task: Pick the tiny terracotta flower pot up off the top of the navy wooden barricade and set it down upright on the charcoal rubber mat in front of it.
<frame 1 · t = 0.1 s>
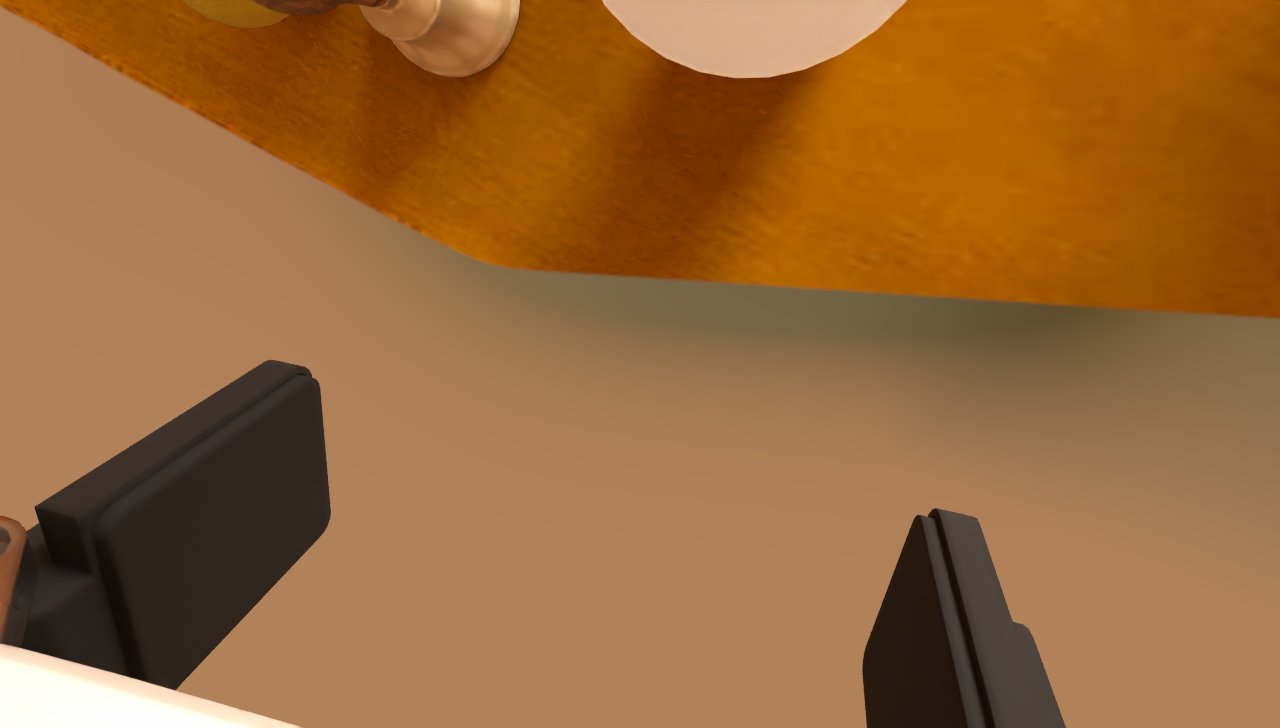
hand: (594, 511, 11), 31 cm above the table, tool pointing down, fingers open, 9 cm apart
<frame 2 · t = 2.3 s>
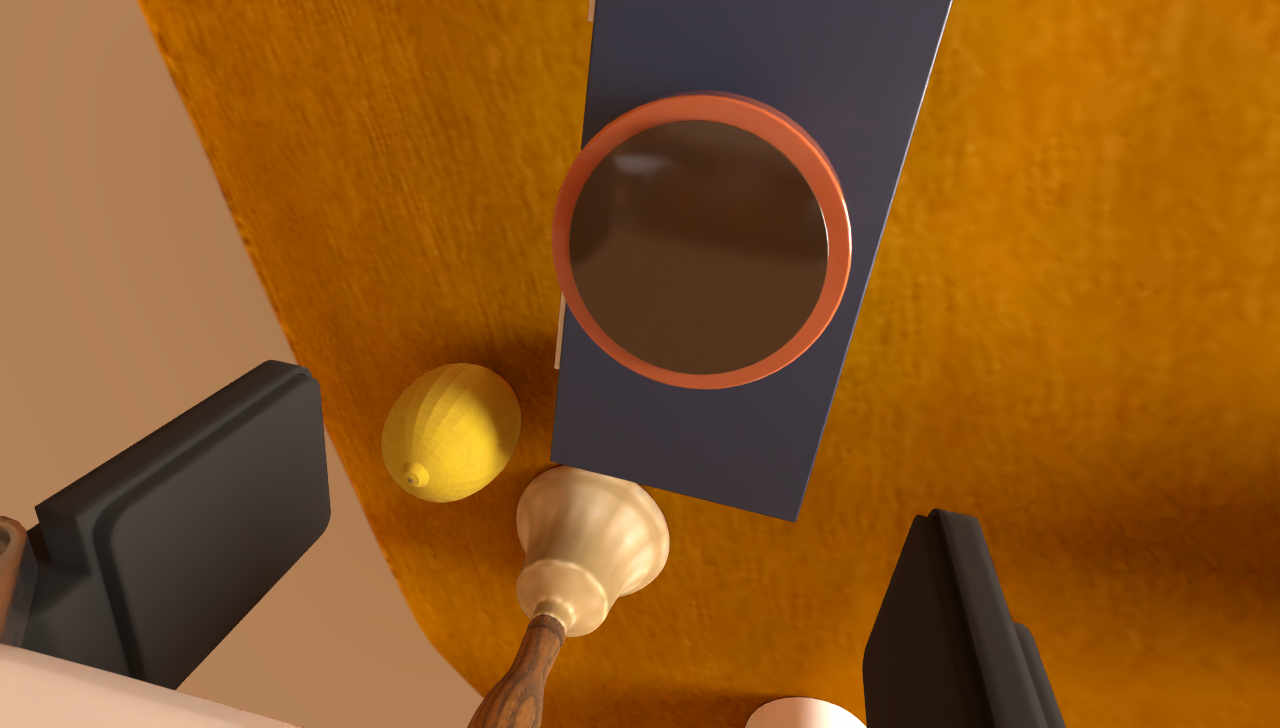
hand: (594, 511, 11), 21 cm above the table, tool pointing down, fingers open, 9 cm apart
pot: (728, 190, 23), point 6 cm above the table, touching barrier
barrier: (745, 159, 28), on the table
hand bell: (593, 528, 38), on the table
lemon: (492, 387, 36), on the table
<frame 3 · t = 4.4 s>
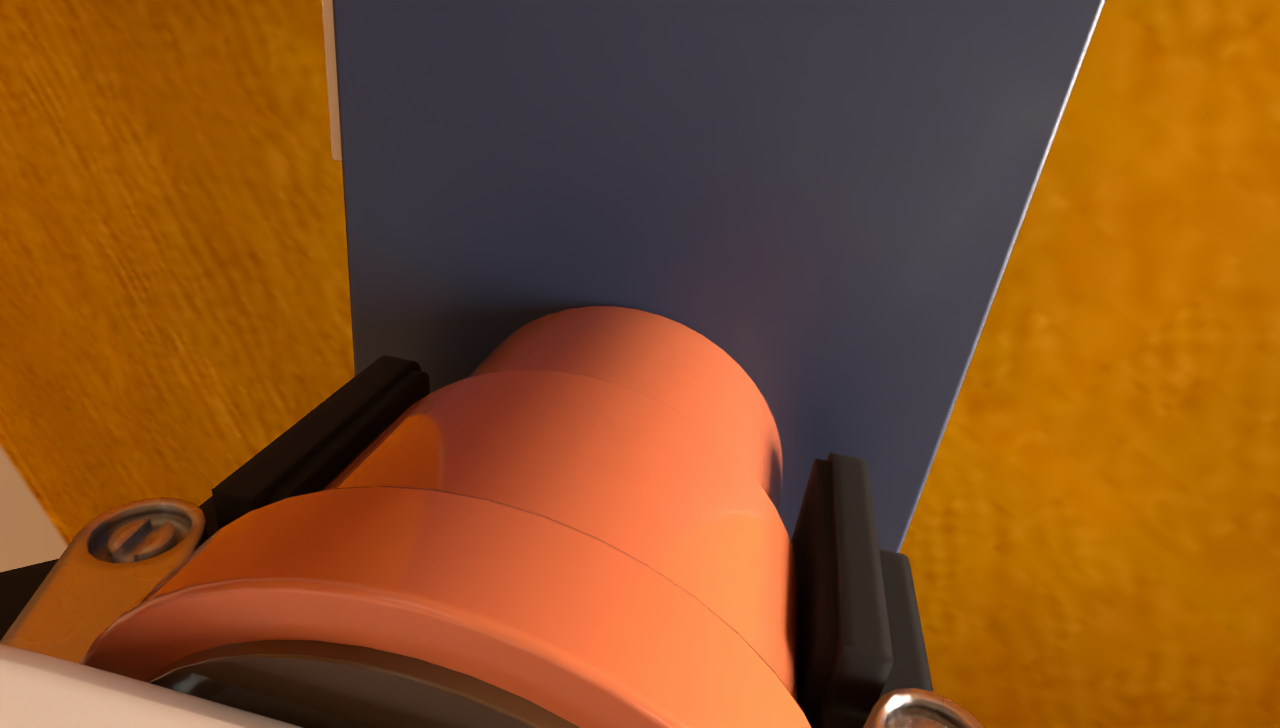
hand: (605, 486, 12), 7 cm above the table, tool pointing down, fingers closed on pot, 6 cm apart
pot: (618, 455, 13), point 6 cm above the table, touching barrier, gripper
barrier: (675, 325, 18), on the table
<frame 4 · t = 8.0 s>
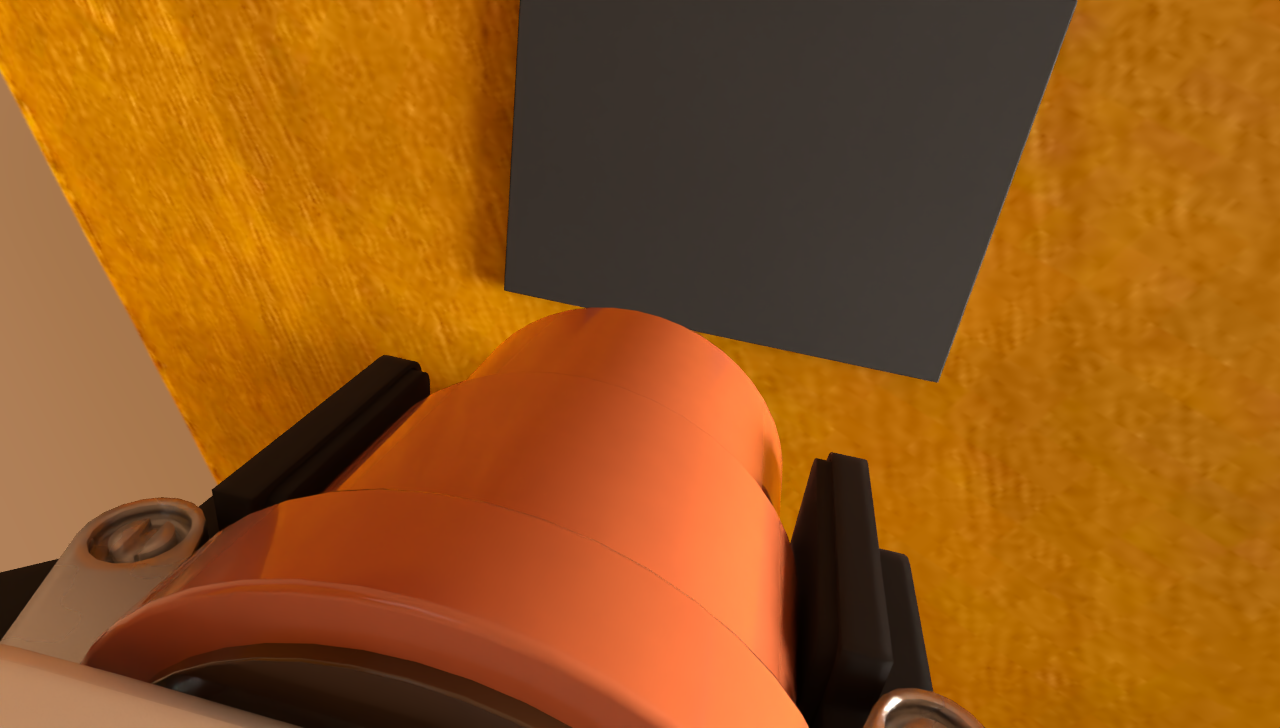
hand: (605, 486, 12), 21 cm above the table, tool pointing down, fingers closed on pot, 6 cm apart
pot: (618, 456, 13), point 20 cm above the table, touching gripper
mat: (746, 165, 30), on the table
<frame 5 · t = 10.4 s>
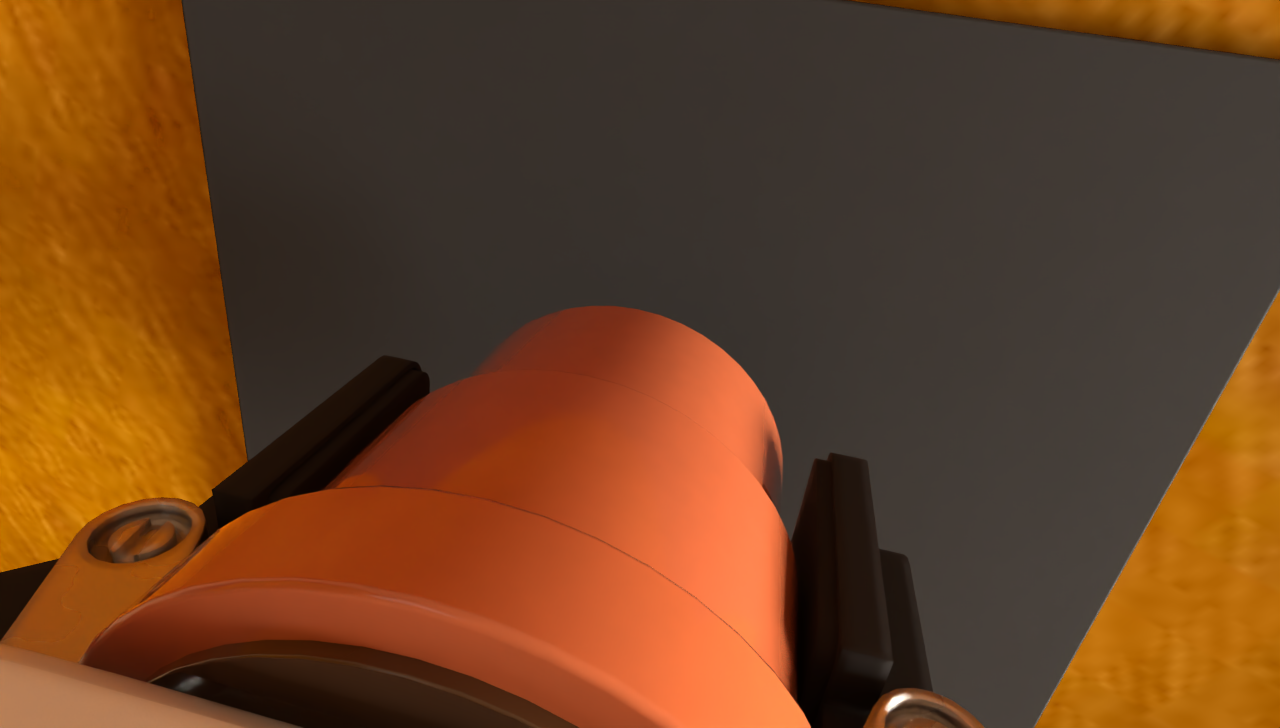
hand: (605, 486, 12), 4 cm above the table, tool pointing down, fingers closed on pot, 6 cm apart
pot: (618, 455, 13), point 3 cm above the table, touching gripper
mat: (657, 374, 16), on the table
when the fingers open (2 cm above the table, at t = 11.8 s): pot stays where it is, resting on mat.
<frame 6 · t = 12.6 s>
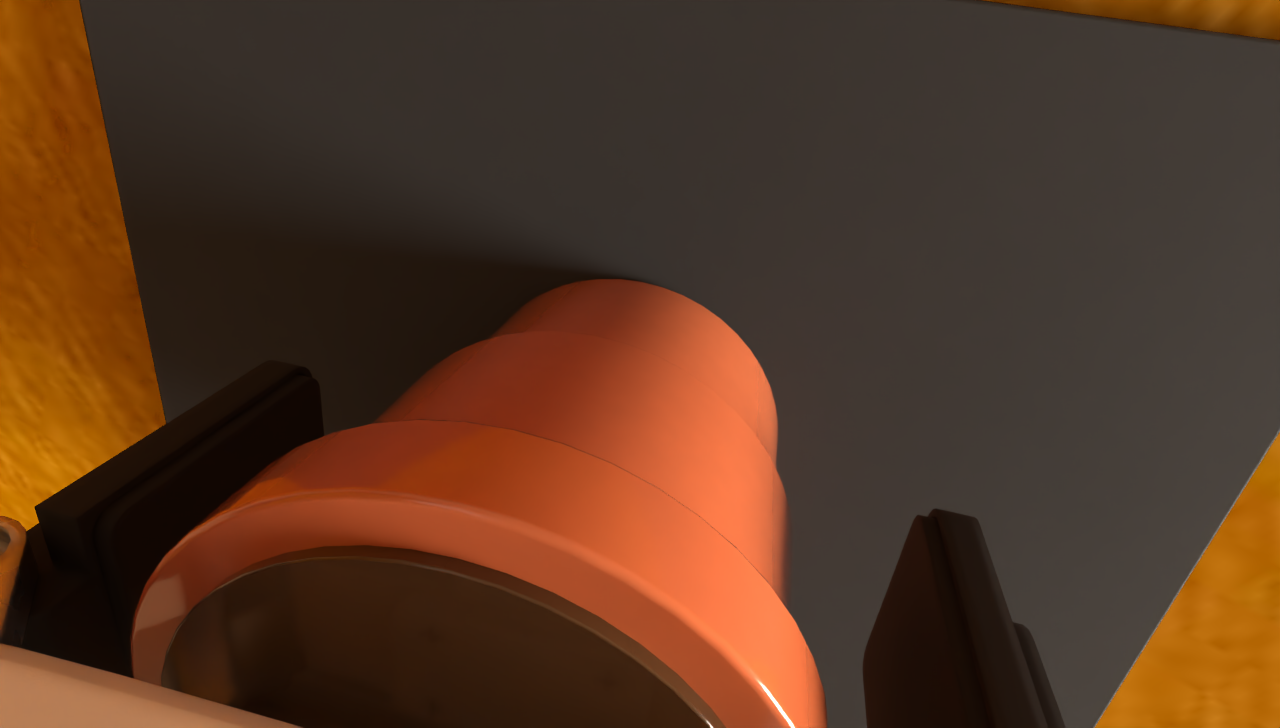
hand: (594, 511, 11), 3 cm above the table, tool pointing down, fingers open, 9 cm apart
pot: (623, 422, 13), point 1 cm above the table, touching mat
mat: (631, 408, 14), on the table
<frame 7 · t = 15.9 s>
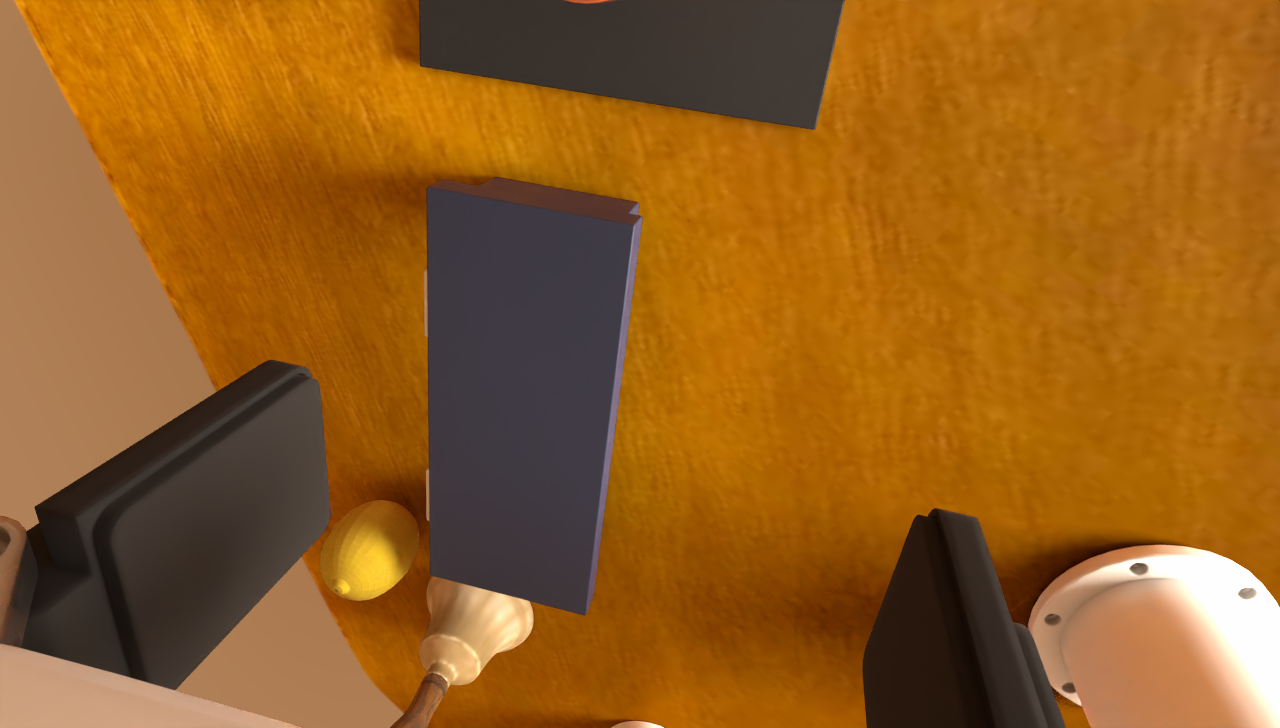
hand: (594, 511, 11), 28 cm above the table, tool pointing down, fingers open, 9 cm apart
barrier: (551, 378, 44), on the table
hand bell: (481, 603, 53), on the table
lemon: (403, 509, 51), on the table
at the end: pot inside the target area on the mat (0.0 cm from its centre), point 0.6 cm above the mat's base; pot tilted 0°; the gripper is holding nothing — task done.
